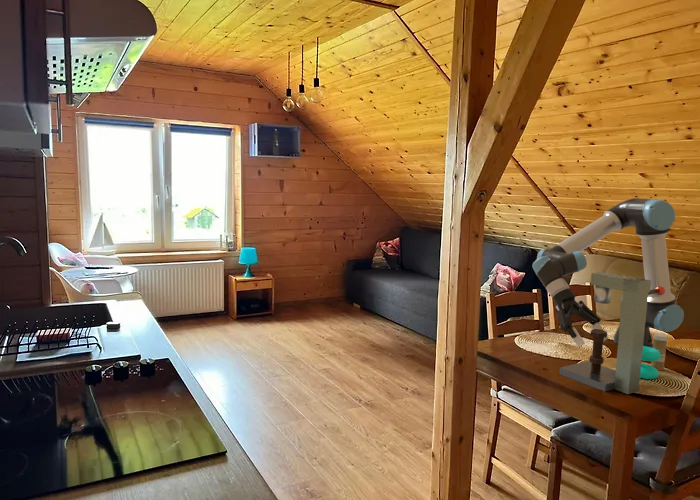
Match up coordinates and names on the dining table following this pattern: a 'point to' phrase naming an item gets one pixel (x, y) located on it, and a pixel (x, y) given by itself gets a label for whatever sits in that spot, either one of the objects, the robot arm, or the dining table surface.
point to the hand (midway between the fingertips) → (593, 342)
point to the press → (629, 334)
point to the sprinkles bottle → (661, 347)
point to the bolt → (597, 349)
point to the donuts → (648, 370)
